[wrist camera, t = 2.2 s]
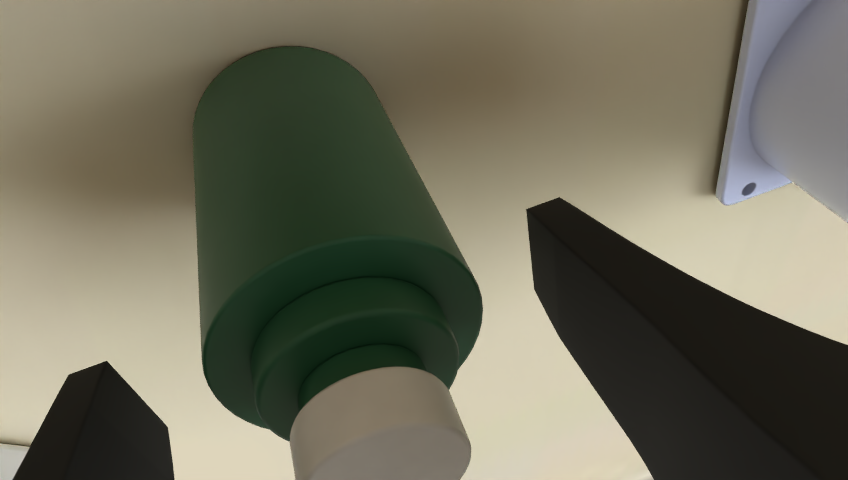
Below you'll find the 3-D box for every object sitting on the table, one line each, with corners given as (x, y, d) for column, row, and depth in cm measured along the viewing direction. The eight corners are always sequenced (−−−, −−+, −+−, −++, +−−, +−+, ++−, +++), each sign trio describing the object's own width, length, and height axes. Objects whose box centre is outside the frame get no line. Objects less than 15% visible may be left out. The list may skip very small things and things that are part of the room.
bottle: (357, 18, 14) (535, 313, 7) (400, 178, 17) (553, 491, 10) (155, 82, 13) (135, 463, 7) (238, 235, 17) (283, 602, 10)
